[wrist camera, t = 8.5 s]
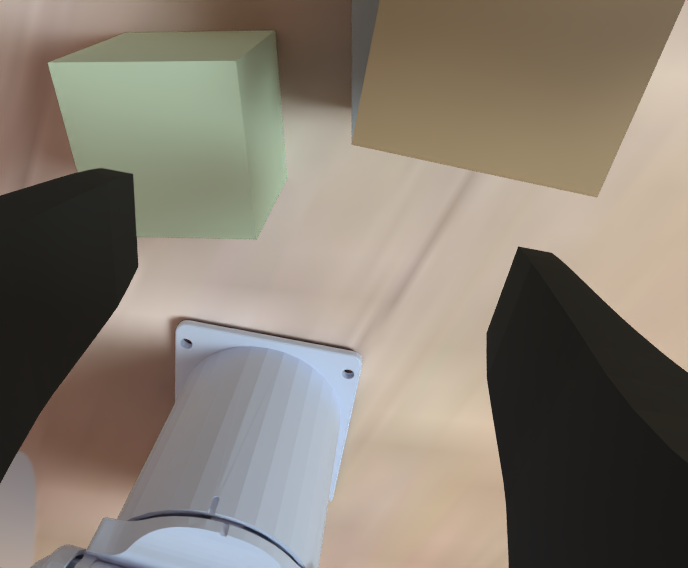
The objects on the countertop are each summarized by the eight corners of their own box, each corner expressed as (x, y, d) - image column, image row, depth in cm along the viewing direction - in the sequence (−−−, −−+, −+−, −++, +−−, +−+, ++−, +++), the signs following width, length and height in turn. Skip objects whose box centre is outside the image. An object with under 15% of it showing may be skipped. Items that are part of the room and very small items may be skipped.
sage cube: (287, 177, 22) (256, 239, 18) (155, 175, 22) (94, 235, 18) (275, 30, 19) (236, 60, 15) (126, 32, 20) (47, 62, 15)
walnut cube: (549, 124, 16) (596, 197, 12) (368, 85, 16) (351, 144, 12) (629, -91, 13) (727, -96, 9) (414, -138, 13) (412, -166, 9)
